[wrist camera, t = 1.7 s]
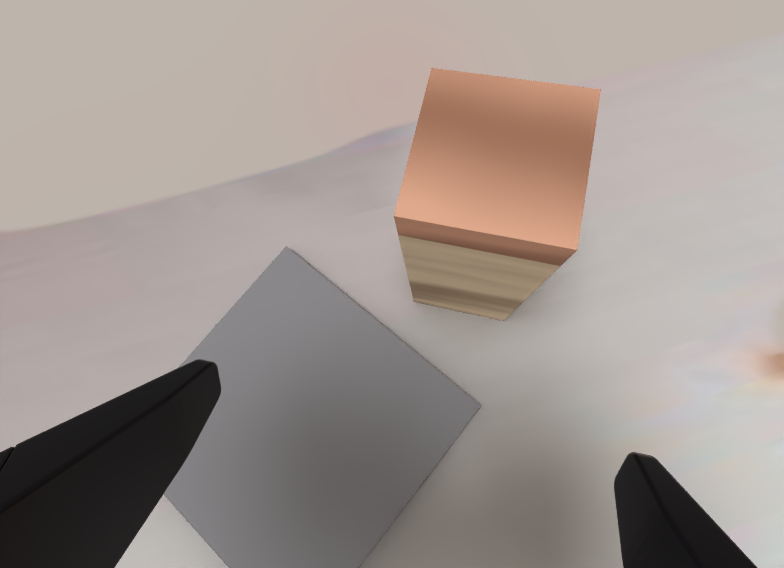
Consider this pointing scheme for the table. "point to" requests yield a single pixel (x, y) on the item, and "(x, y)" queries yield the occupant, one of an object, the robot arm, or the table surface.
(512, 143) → the maple block
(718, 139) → the table surface
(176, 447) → the robot arm
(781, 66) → the table surface
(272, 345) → the charcoal mat
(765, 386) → the table surface
